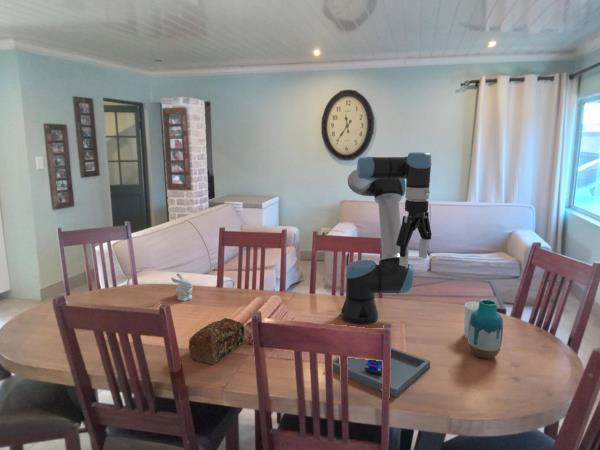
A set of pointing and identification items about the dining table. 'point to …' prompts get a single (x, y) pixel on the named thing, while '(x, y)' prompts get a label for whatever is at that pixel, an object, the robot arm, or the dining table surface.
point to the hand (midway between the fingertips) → (413, 261)
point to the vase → (485, 330)
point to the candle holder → (469, 315)
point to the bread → (216, 341)
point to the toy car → (374, 366)
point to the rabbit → (183, 288)
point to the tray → (402, 371)
